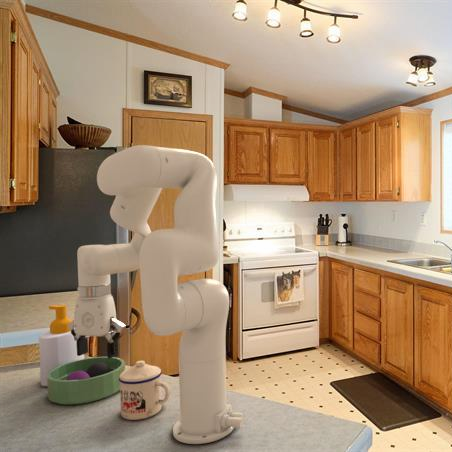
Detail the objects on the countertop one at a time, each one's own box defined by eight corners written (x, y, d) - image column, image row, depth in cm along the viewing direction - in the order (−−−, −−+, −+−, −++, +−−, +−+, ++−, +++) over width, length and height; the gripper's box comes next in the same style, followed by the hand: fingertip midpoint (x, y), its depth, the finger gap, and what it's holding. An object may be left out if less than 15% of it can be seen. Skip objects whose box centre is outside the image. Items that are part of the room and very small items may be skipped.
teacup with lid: (110, 418, 96) (109, 367, 96) (137, 401, 105) (136, 353, 104) (157, 424, 93) (156, 371, 93) (181, 405, 102) (180, 357, 101)
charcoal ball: (114, 380, 117) (114, 359, 117) (99, 388, 111) (98, 367, 111) (97, 378, 118) (96, 358, 118) (81, 386, 113) (80, 365, 113)
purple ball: (95, 390, 110) (95, 368, 110) (78, 398, 105) (77, 375, 105) (78, 389, 112) (77, 367, 112) (59, 397, 106) (58, 374, 107)
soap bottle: (69, 368, 128) (66, 300, 128) (93, 369, 127) (90, 301, 126) (31, 386, 115) (28, 311, 115) (57, 388, 114) (54, 311, 113)
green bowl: (140, 380, 118) (139, 358, 118) (89, 409, 101) (88, 384, 100) (86, 375, 122) (86, 354, 122) (30, 402, 105) (29, 378, 105)
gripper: (56, 293, 113) (59, 358, 113) (112, 295, 108) (114, 362, 109) (79, 288, 120) (82, 349, 120) (132, 289, 115) (134, 352, 116)
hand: (97, 355), depth 115 cm, fingers open, 9 cm apart
